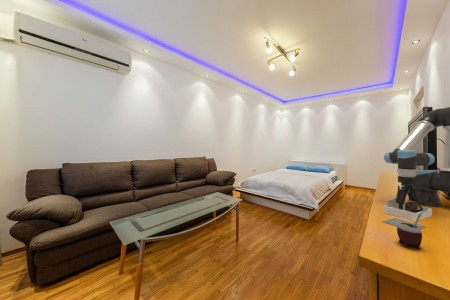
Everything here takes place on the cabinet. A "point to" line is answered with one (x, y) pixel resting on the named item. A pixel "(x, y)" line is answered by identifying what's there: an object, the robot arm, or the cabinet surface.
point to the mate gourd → (410, 233)
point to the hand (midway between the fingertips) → (407, 213)
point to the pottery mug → (412, 207)
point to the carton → (393, 210)
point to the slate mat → (397, 221)
